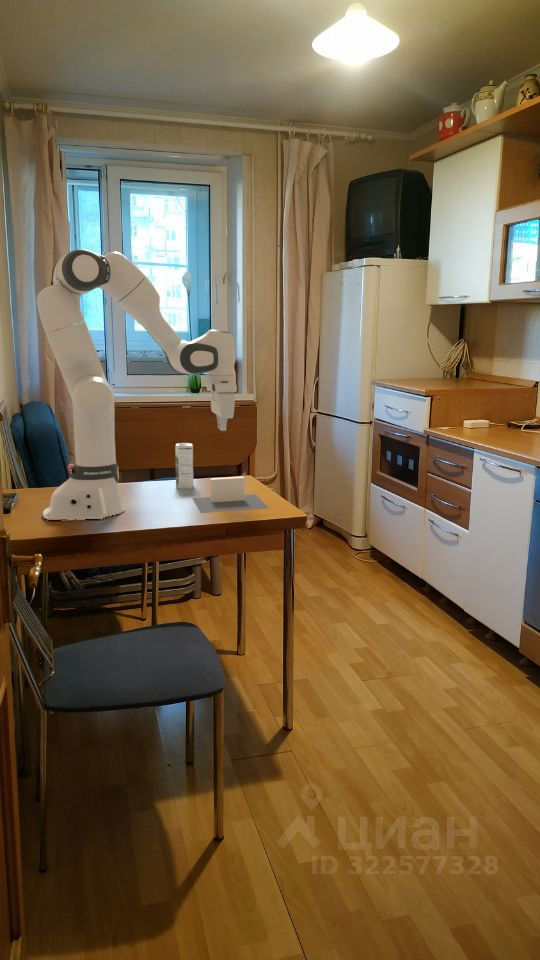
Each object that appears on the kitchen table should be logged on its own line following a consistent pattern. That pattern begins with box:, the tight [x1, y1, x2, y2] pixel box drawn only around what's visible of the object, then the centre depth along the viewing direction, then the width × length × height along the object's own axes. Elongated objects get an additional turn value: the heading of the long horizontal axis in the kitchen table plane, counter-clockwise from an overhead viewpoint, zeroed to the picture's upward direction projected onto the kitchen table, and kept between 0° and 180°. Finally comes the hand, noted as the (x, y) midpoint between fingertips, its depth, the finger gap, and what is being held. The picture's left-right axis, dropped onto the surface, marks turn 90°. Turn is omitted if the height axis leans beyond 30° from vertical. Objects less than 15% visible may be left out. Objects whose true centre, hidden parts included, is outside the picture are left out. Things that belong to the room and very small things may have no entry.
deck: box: [209, 476, 245, 502], centre depth 207 cm, size 10×2×7 cm, turn 104°
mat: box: [192, 493, 270, 514], centre depth 205 cm, size 20×18×1 cm
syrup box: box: [174, 442, 194, 490], centre depth 227 cm, size 6×6×14 cm
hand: (222, 429), depth 210 cm, fingers closed
